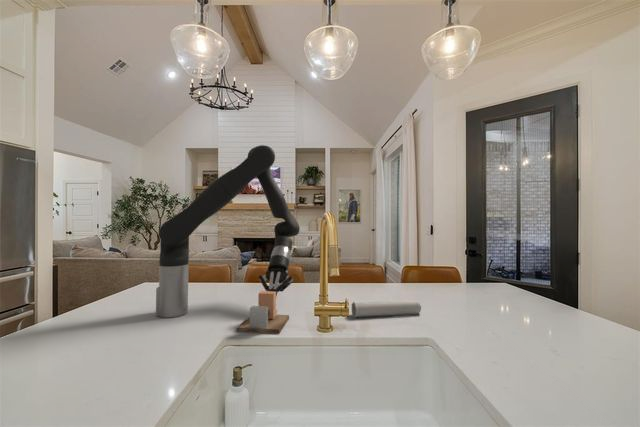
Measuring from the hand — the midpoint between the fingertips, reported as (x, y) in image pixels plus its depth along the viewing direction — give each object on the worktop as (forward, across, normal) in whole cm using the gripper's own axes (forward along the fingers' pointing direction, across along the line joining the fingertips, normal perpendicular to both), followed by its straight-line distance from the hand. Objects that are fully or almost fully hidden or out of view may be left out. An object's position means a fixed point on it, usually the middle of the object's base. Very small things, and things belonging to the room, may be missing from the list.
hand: (271, 300), depth 100 cm
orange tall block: (+6, 0, 0) cm, 6 cm away
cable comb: (+4, 0, +2) cm, 5 cm away
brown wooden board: (+9, 0, -2) cm, 9 cm away
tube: (-1, +40, +9) cm, 41 cm away
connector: (+12, 0, -6) cm, 13 cm away
